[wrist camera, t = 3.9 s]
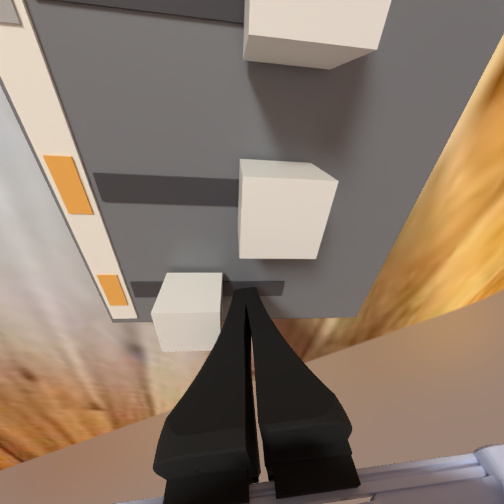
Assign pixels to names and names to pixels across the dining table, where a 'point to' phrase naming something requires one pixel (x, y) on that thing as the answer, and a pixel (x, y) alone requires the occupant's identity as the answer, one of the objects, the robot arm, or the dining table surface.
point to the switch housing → (231, 137)
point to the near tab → (312, 31)
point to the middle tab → (282, 209)
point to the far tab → (189, 311)
